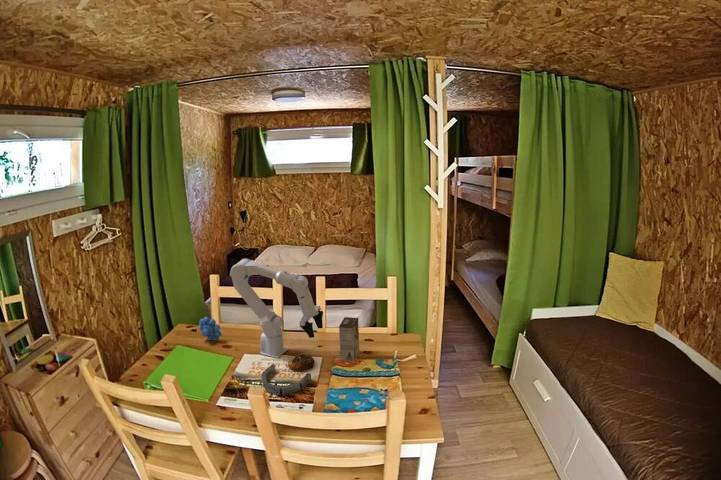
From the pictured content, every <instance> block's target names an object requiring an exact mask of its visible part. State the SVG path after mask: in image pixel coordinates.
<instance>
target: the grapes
mask: <svg viewBox="0 0 721 480" xmlns="http://www.w3.org/2000/svg"><path fill="white" fill-rule="evenodd" d="M198 324H199V325H198V330H200V331H201V336H202V337H205V338H206V339H207V340H208V341H209V340H212V341H215V342H218V341H219V339H220V337H222V334H223V333H222V332H221V331H220V330H221V326H220V325H219V324H217V321H216V319H214V318H210V317H208V316H204V318H200V319H199V323H198Z"/></svg>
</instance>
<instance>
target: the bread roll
mask: <svg viewBox="0 0 721 480" xmlns="http://www.w3.org/2000/svg"><path fill="white" fill-rule="evenodd" d="M314 366H315V359H314V357H313V356H312V355H311V354H308V353H299V354H296V355H295V356H294V357H291V359H289V361H288V362H287V367H288V368H289V370H291V371H293V372H307V371H309V370H311V369H313V368H314Z"/></svg>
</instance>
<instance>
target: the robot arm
mask: <svg viewBox="0 0 721 480" xmlns="http://www.w3.org/2000/svg"><path fill="white" fill-rule="evenodd" d="M254 275H258V276H262V277H264V278H265V277H266V278H268V279H269V278H270V279H271V280H274V281H275V283H276V284H278V285H281V286H283V287H286V288H289V289H291V290H292V291H293V292H294V293H295V294H296V298H297V300H298V302H299V303H298V304H299V306H300V309H301V313H302V317H301V318H300V320H299V321H298V323H299V328H300V329H302V330H303V331H304V332H305V333H306V335H307V336H308V338H309V339H311V338H312V339H314V338H315V333H314V328H313V324H314V323H313V322H315V326H316V327H317V329H323V327H324V326H323V316H324V311H323V310H322V308H321V306H320V305H315V303H314V300H313V297H312V293H311V292H310V288H309V285H308V284H309V280H308V278H307V277H305V276H304V275H301V274H300V275H298V274H293V273H290V272H288V270H286V269H285V270H279V271H277V270H274V269H272V268H269V267H267V266H265V265H263V264H260V263H258V262H257V261H255V260H253V259H249V258H242V259H241V260H239V261H238V262H237V263H236V264H234V265H232V267H231V268H230V271H229V276H230V278H231V281H232V285H233V288H234V289H235V291H236V292H237V293H238V294H239V295H240V296H241V298H242V299H243V300H244V302H245V303H246V304H247V305H248V307H249V308H250V309H251V310H252V311H253V313H254V314H255V315H256V316H257V317H258V319H259V322H260V323H259V324H260V327H261V329H262V333H261V334H260V339H259V342H260V343H259V344H260V352H259V355H262V356H265V357H270V358H271V357H272V358H276V359H278V358H280V357H281V356H282V355H283V354H284V353H285V352H287V351H288V350H289V348H288V347H284V335H283V334H284V333H283V332H284V331H283V329H282V327H283V325H284V320H283V318H282V317H281V316H280V315H278V314H277V313H276V312H274V311H271V310H270V309H269V308H268V307H267V305H266V304H265V302H264V301H263V300H262V298H260V296H259V295H258V293H256V291H255V290H254V289H253V287H252V286H251V285H250V284H249V278H250V276H254ZM311 319H313V320H314V321H313V322H310V320H311Z"/></svg>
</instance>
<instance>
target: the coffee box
mask: <svg viewBox="0 0 721 480" xmlns="http://www.w3.org/2000/svg"><path fill="white" fill-rule="evenodd" d="M338 330H339V331H338V332H339V333H338V334H339V355H340V357H339V358H340V359H339V360H340V362H350V363H355V362H356V360H357V357H358V355H359V352H360V341H359V340H360V339H359V338H360V337H359V317H349V316H348V317H347V316H345V317H343V319H342V321H341V322H340V324H339V329H338Z"/></svg>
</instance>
